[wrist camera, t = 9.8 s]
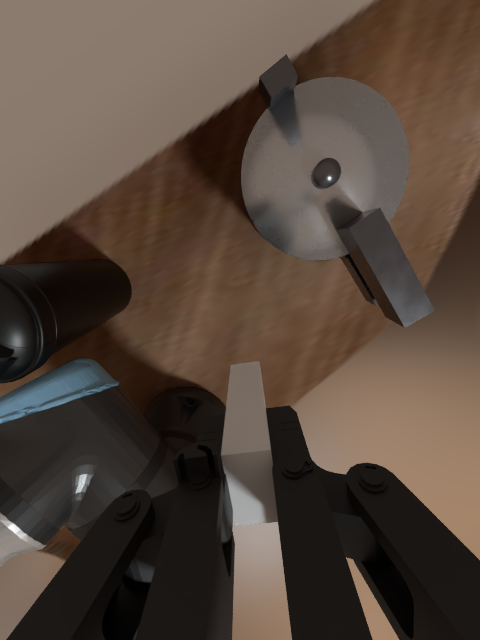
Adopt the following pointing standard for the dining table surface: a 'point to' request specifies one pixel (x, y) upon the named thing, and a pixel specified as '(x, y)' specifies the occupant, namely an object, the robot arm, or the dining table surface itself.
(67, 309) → the water bottle
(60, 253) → the dining table surface
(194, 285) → the dining table surface
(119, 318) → the dining table surface
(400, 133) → the lid
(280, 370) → the dining table surface
